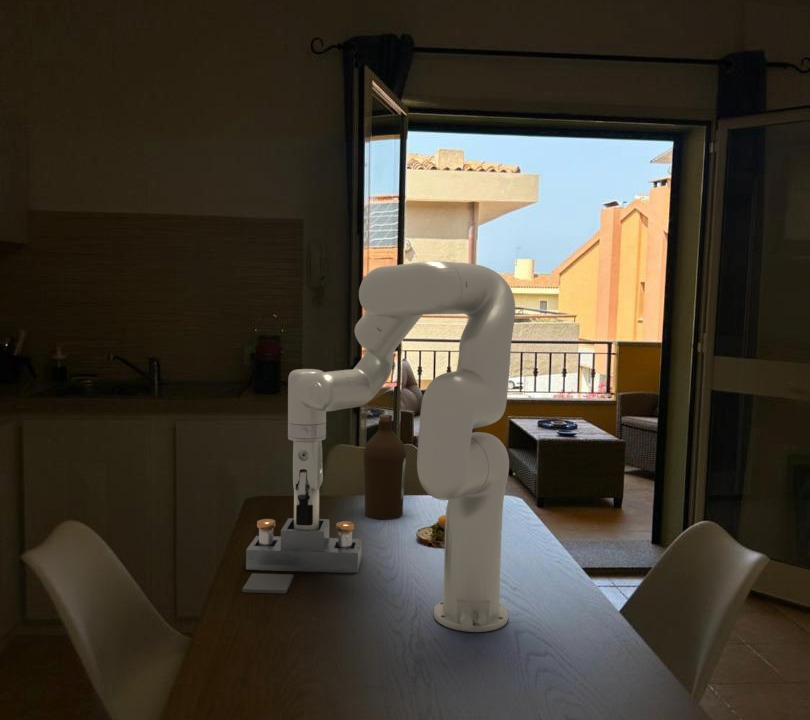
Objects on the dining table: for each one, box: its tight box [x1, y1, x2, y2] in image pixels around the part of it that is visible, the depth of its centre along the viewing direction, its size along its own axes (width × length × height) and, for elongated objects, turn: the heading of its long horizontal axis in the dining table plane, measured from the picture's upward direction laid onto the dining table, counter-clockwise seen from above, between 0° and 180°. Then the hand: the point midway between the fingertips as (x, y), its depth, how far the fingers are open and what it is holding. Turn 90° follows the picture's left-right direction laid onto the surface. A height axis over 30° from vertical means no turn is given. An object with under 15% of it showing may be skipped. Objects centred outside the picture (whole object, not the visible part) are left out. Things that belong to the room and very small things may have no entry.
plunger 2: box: [335, 520, 355, 549], centre depth 155 cm, size 4×4×8 cm
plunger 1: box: [256, 518, 276, 546], centre depth 155 cm, size 4×4×8 cm
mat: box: [241, 572, 295, 595], centre depth 143 cm, size 8×8×1 cm
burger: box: [415, 514, 446, 549], centre depth 172 cm, size 12×12×8 cm
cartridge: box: [293, 483, 320, 530], centre depth 154 cm, size 5×5×13 cm
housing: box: [245, 517, 363, 574], centre depth 155 cm, size 22×9×8 cm, turn 89°
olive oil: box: [363, 413, 407, 520], centre depth 191 cm, size 11×11×25 cm
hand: (306, 519), depth 154 cm, fingers closed on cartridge, 5 cm apart
